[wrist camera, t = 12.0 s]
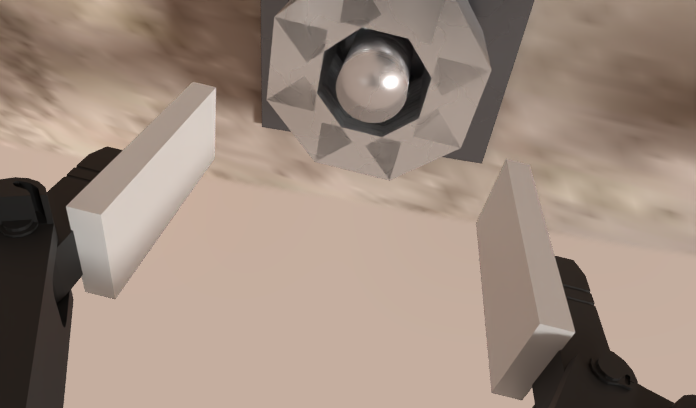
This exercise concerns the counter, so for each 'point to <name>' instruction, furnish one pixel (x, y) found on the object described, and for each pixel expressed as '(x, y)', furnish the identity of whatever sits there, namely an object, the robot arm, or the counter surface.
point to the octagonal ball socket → (423, 92)
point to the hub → (409, 70)
